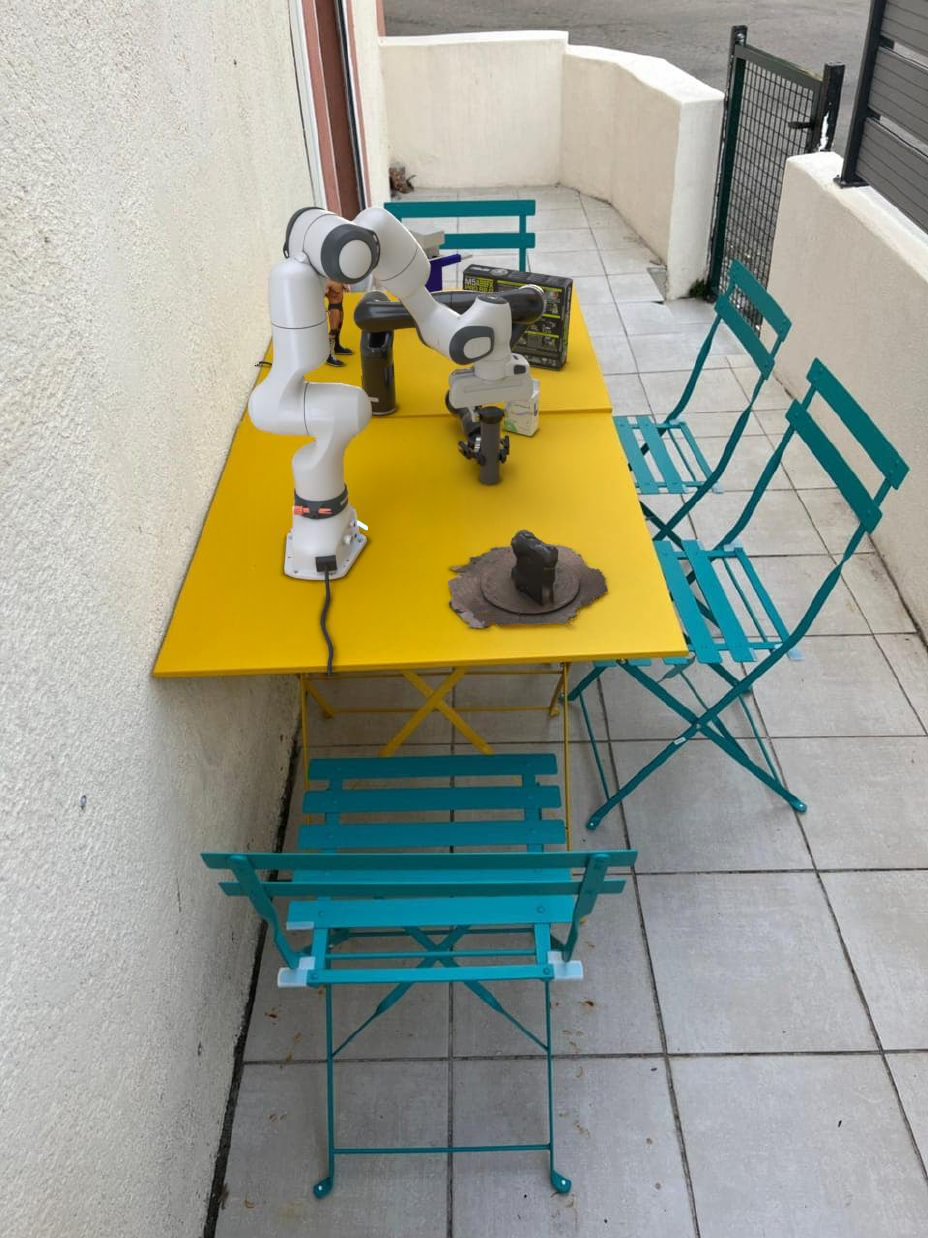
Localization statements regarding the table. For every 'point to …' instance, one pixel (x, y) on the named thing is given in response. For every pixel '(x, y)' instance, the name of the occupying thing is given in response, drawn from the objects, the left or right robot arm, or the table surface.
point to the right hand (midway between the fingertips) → (492, 461)
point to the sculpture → (524, 584)
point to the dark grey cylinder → (490, 453)
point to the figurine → (335, 320)
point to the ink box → (524, 413)
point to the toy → (435, 254)
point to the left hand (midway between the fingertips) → (490, 418)
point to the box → (548, 333)
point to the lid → (490, 415)
